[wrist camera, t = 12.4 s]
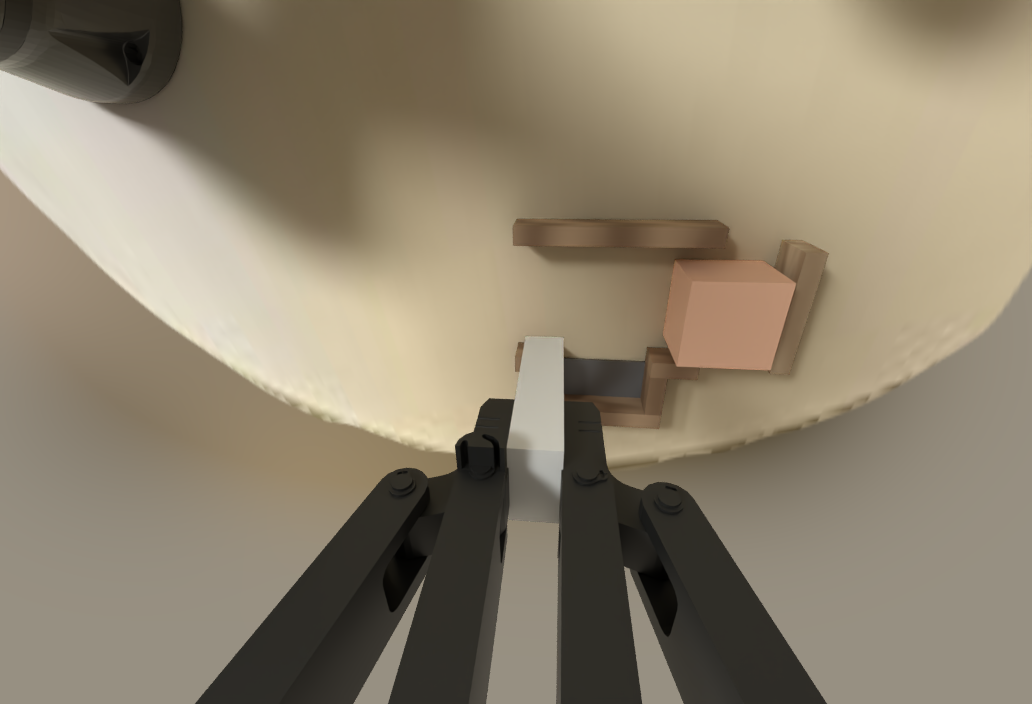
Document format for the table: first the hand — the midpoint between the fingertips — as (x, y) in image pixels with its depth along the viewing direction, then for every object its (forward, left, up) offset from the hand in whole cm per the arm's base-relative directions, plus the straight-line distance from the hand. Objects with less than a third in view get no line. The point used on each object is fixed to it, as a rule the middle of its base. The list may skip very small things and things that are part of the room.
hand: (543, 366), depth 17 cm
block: (+13, -5, -22) cm, 26 cm away
